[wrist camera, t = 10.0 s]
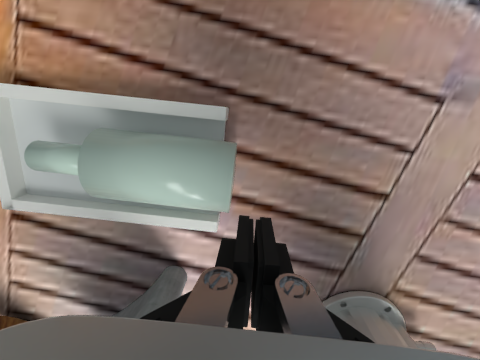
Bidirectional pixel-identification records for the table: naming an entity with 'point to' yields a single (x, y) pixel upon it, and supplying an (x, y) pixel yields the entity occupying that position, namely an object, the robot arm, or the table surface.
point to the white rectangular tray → (74, 132)
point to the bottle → (144, 167)
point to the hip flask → (157, 293)
